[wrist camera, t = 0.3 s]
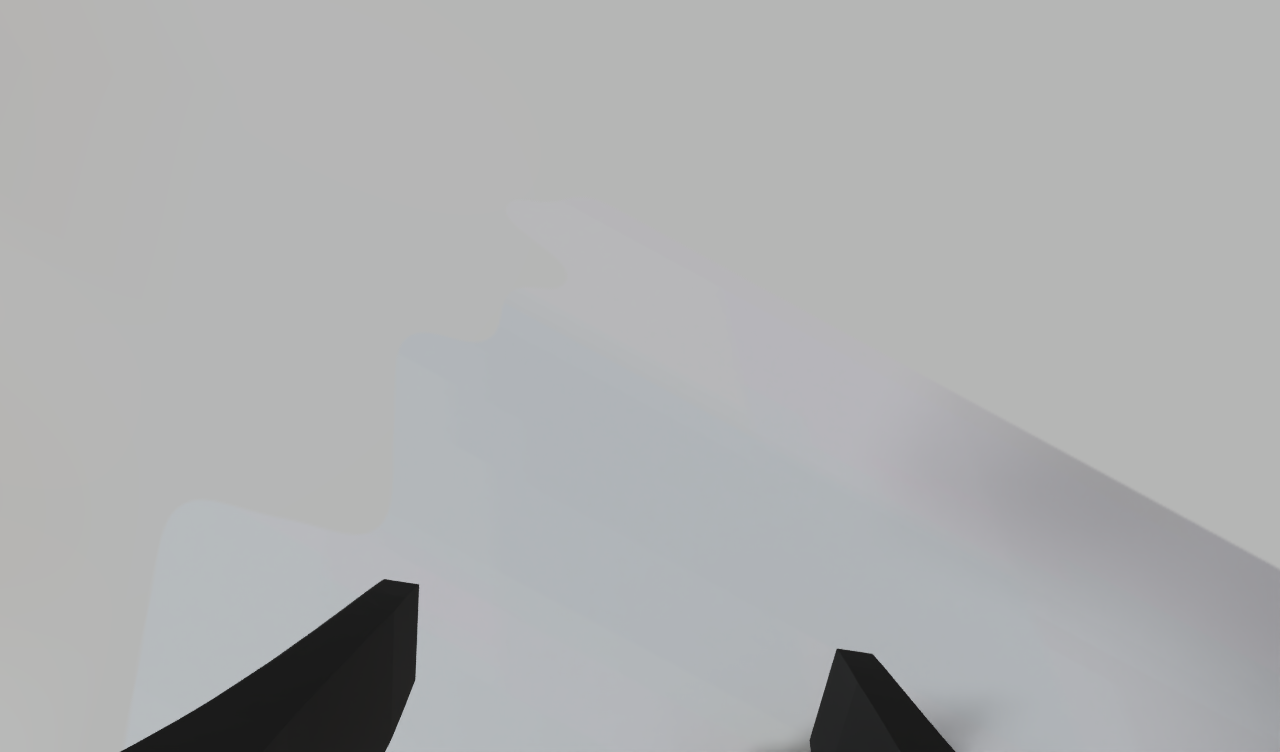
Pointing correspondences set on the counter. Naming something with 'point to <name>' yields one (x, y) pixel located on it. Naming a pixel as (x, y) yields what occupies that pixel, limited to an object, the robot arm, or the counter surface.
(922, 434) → the counter surface
